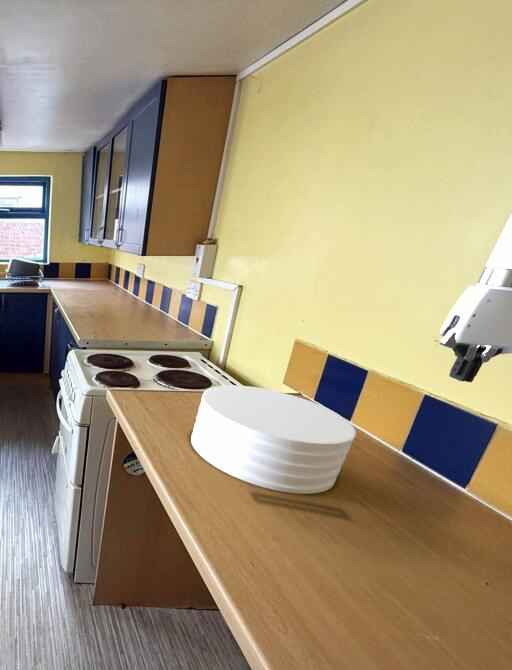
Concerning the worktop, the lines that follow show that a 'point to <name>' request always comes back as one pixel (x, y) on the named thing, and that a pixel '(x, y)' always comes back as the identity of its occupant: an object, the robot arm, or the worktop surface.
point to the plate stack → (271, 438)
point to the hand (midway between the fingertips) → (459, 379)
